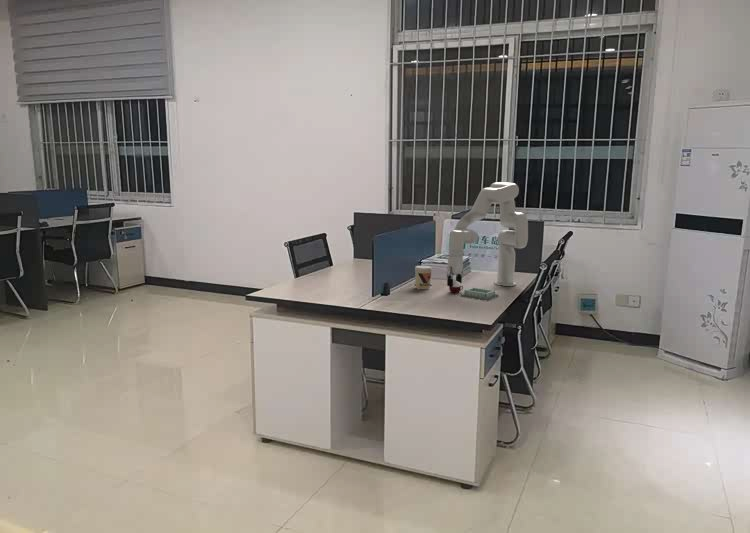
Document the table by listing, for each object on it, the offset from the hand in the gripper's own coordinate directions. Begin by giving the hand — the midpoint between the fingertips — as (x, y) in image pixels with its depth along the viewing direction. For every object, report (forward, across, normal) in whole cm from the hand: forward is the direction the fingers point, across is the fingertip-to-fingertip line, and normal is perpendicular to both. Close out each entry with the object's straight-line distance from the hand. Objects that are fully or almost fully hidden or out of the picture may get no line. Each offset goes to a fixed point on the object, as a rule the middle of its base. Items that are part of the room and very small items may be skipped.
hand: (454, 284), depth 311 cm
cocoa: (+4, 0, 0) cm, 4 cm away
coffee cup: (+4, +3, -18) cm, 19 cm away
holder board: (+4, 0, +15) cm, 16 cm away
